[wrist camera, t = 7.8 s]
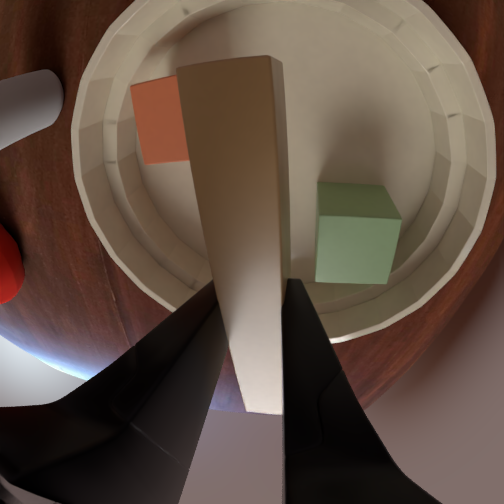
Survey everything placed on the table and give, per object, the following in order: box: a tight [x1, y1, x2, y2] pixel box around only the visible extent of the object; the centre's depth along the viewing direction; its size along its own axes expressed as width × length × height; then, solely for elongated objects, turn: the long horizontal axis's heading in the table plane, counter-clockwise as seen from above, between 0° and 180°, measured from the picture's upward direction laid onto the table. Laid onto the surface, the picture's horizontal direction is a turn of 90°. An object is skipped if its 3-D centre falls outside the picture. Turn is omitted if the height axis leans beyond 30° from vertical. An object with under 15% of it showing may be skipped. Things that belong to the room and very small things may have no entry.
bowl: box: [71, 0, 496, 343], centre depth 14 cm, size 21×21×5 cm
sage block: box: [315, 182, 402, 284], centre depth 15 cm, size 4×4×4 cm
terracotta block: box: [130, 75, 189, 165], centre depth 13 cm, size 4×4×4 cm
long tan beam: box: [176, 55, 291, 415], centre depth 8 cm, size 2×12×2 cm, turn 5°
